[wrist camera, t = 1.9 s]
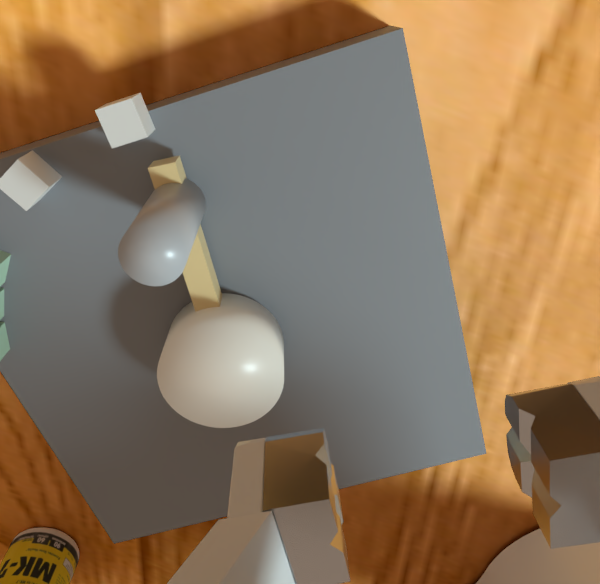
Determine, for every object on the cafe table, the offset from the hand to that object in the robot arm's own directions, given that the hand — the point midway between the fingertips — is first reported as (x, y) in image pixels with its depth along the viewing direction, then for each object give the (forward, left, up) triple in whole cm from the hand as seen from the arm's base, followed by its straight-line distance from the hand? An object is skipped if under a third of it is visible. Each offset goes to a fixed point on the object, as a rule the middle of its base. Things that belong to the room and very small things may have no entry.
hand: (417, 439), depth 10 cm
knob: (-4, +7, -18) cm, 20 cm away
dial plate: (-7, +8, -21) cm, 24 cm away
